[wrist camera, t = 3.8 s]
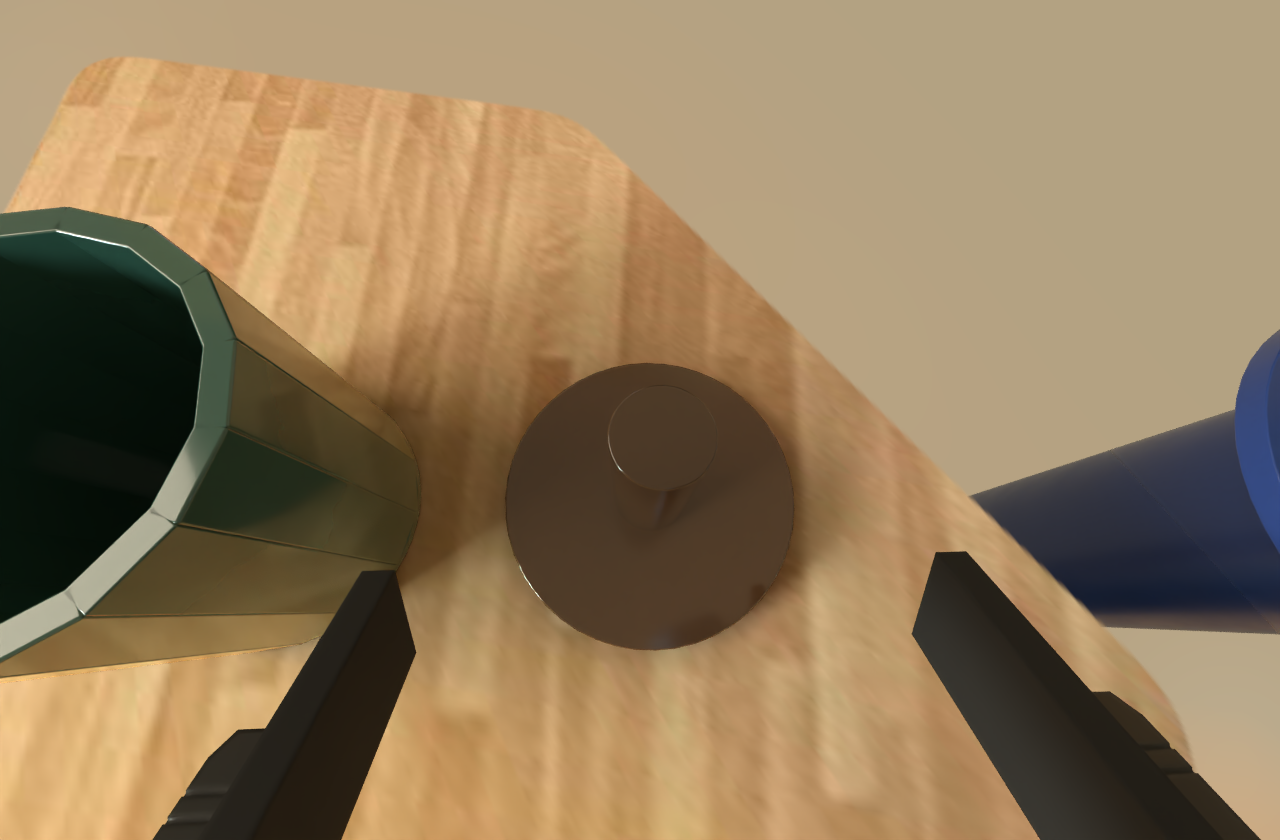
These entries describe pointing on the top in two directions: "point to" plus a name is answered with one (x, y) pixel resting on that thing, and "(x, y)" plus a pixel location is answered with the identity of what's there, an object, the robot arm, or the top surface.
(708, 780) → the top surface
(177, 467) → the canister
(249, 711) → the top surface
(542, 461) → the lid
